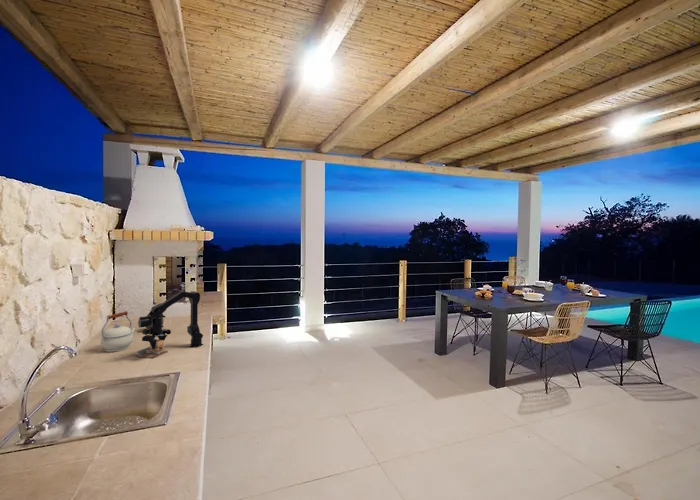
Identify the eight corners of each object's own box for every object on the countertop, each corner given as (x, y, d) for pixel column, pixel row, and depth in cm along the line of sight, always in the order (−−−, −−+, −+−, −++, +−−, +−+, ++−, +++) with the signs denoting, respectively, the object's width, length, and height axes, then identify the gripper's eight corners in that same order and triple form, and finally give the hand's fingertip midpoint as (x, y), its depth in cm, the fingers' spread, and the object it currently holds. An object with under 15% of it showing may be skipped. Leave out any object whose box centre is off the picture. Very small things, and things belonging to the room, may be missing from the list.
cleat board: (167, 352, 218) (167, 347, 218) (153, 358, 205) (153, 353, 205) (152, 350, 220) (152, 345, 220) (137, 356, 208) (137, 351, 208)
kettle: (113, 355, 209) (113, 317, 209) (91, 352, 213) (91, 315, 212) (145, 343, 234) (145, 310, 233) (124, 341, 237) (124, 308, 237)
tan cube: (163, 349, 214) (163, 340, 214) (157, 351, 209) (157, 342, 209) (155, 348, 215) (155, 339, 215) (149, 350, 210) (149, 341, 210)
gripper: (157, 320, 222) (157, 342, 223) (134, 327, 204) (134, 351, 204) (171, 321, 220) (171, 343, 221) (149, 328, 202) (149, 353, 202)
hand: (156, 347), depth 212 cm, fingers closed on tan cube, 5 cm apart
